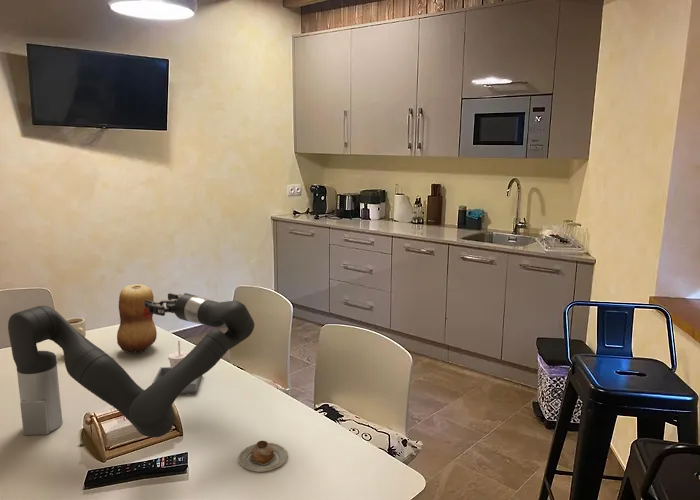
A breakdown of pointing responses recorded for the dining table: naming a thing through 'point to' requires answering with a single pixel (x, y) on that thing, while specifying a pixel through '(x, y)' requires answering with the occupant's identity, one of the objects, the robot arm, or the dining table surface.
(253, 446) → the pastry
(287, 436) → the dining table surface
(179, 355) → the smoothie
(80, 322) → the character mug
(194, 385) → the bin
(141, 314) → the butternut squash
